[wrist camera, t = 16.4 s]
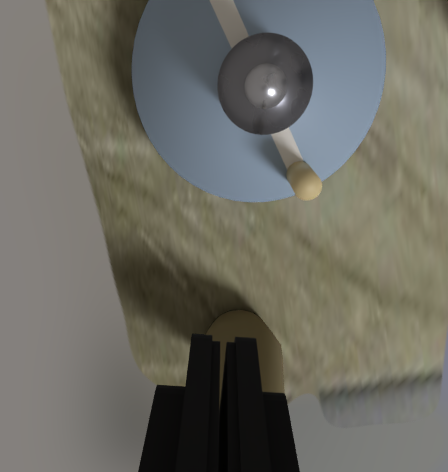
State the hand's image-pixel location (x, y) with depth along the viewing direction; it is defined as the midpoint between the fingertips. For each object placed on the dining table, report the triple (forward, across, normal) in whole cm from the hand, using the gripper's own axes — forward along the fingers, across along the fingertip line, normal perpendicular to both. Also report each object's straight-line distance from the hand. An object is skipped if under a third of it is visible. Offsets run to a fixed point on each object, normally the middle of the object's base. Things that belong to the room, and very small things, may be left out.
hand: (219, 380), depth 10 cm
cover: (+22, -2, -7) cm, 23 cm away
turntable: (+24, -2, -7) cm, 25 cm away
